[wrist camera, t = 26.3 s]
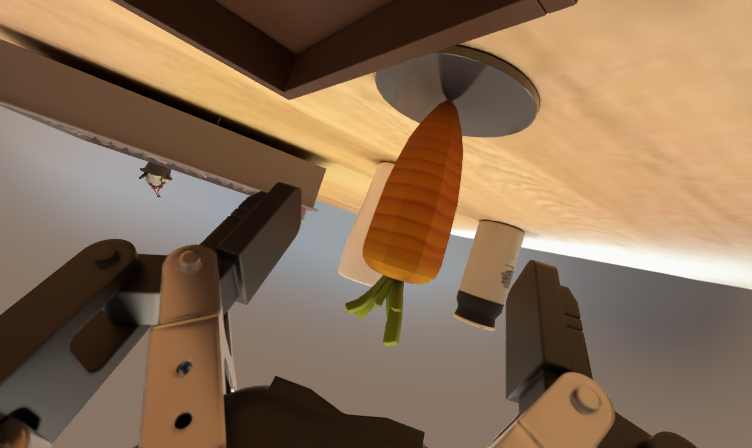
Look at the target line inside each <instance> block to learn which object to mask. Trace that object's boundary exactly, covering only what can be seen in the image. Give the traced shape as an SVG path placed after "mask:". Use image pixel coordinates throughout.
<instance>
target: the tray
mask: <svg viewBox="0 0 752 448" xmlns="http://www.w3.org/2000/svg"><path fill="white" fill-rule="evenodd" d="M111 1H113V2H115V3H117V4H119V5H120V6H122V7H124V8H126V9H127V10H129V11H131V12H133V13H135V14H136V15H138V16H140V17H142V18H144V19H145V20H147V21H149V22H151V23H152V24H154V25H156V26H158V27H160V28H161V29H163V30H165V31H167V32H169V33H170V34H172V35H174V36H176V37H177V38H179V39H181V40H183V41H185V42H186V43H188V44H190V45H192V46H194V47H195V48H197V49H199V50H201V51H202V52H204V53H206V54H208V55H210V56H211V57H213V58H215V59H217V60H219V61H220V62H222V63H224V64H226V65H227V66H229V67H231V68H233V69H235V70H236V71H238V72H240V73H242V74H243V75H245V76H247V77H249V78H251V79H252V80H254V81H256V82H258V83H260V84H261V85H263V86H265V87H267V88H268V89H270V90H272V91H274V92H276V93H277V94H279V95H281V96H283V97H285V98H286V99H288V100H291V99H294V98H297V97H300V96H303V95H306V94H310V93H313V92H316V91H319V90H322V89H325V88H328V87H331V86H334V85H337V84H340V83H343V82H346V81H349V80H352V79H355V78H358V77H361V76H364V75H367V74H370V73H373V72H376V71H379V70H382V69H385V68H388V67H391V66H394V65H397V64H400V63H403V62H406V61H409V60H412V59H415V58H418V57H421V56H424V55H427V54H430V53H433V52H436V51H439V50H442V49H445V48H448V47H451V46H454V45H458V44H461V43H464V42H467V41H470V40H473V39H476V38H479V37H482V36H485V35H488V34H491V33H494V32H497V31H500V30H503V29H506V28H509V27H512V26H515V25H518V24H521V23H524V22H527V21H530V20H533V19H536V18H539V17H542V16H545V15H546V14H547V13H552V12H555V11H558V10H561V9H564V8H567V7H570V6H573V5H575V4H576V3H577V1H578V0H111Z"/></svg>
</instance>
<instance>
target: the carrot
mask: <svg viewBox="0 0 752 448" xmlns="http://www.w3.org/2000/svg"><path fill="white" fill-rule="evenodd" d="M462 160H463V145H462V130H461V126H460V121H459V116H458V111H457V108H456V106H455V105H454V103H453V101H452V100H450V99H448V100H446V101H443V102H441V103H439V104H438V105H437V106H436V107H435V108H434V109H433V110H432V111H431V112H430V113H429V114H428V115H427V116H426V117H425V118H424V119H423V121H422V122H421V123H420V125H419V126H418V127H417V128H416V130H415V131H414V132H413V134H412V135H411V136H410V138H409V139H408V141H407V143H406V145H405V147H404V148H403V150H402V152H401V154H400V156H399V157H398V159H397V161H396V163H395V165H394V167H393V169H392V171H391V173H390V175H389V177H388V179H387V181H386V183H385V186H384V189H383V191H382V194H381V196H380V199H379V202H378V204H377V207H376V210H375V212H374V215H373V218H372V221H371V224H370V227H369V229H368V232H367V235H366V238H365V241H364V245H363V254H362V256H363V258H364V260H365V262H366V264H367V265H368V266H369V267H370V268H371V269H373V270H374V271H376V272H378V273H380V274H382V275H383V276H382V277H381V278H380V279H379V280H378V281H377V283H376V284H375V285H374V286H373V287H372V288H371V289H370V290H369V291H367V292H366V293H365V294H364V295H362V296H361V297H360V298H358V299H357V300H354V301H351V302H348V303H346V304H345V309H346V311H347V312H348V313H353V312H355V315H356V316H357V317H359V318H363V317H365V316H366V315H367V314H368V313H369V312H370V311H371V309H372V308H373V307H374V305H375V306H376V307H381V305H382V303H383V301H384V299H385V297H386V313H387V323H386V327H385V333H384V339H383V343H384V345H387V346H389V347H391V346H393V345H396V344H398V342H399V337H400V331H401V322H402V312H403V287H404V282H407V283H411V284H424V283H428V282H430V281H431V280H433V279H435V277H436V276H437V274H438V272H439V270H440V268H441V265H442V261H443V258H444V254H445V251H446V247H447V243H448V239H449V236H450V232H451V228H452V224H453V220H454V216H455V212H456V208H457V203H458V196H459V189H460V181H461V171H462Z"/></svg>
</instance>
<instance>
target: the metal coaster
mask: <svg viewBox="0 0 752 448" xmlns="http://www.w3.org/2000/svg"><path fill="white" fill-rule="evenodd" d="M375 80H376V85H377V88H378V90H379V92H380V94H381V95H382V97H383V98H384V99H385V100H386V101H387V102H388V103H389V104H390V105H391V106H392V107H393V108H395V109H396V110H397V111H399V112H400V113H402V114H403V115H405V116H407V117H409V118H410V119H412V120H414V121H416V122H419V123H421V122H422V121H423V119H424V118H425V117H426V116H427V115H428V114H429V113H430V112H431V111H432V110H433V109H434V108H435V107H436V106H437V105H438V104H439V103H441V102H443V101H446V100H448V99H450V100H452V101H453V103H454V105H455V106H456V108H457V111H458V116H459V121H460V126H461V130H462V135H463V136H470V137H500V136H506V135H511V134H514V133H517V132H519V131H522V130H524V129H525V128H527V127H528V126H529V125H530V124H532V122H533V121H534V119H535V118H536V115H537V112H538V108H539V98H538V94H537V92H536V90H535V88H534V86H533V85H532V84H531V82H530V81H529V80H528V79H527V78H526V77H525V76H524V75H523V74H522V73H520V72H519V71H518V70H516V69H515V68H514V67H512V66H510V65H509V64H507V63H505V62H504V61H501V60H499V59H497V58H495V57H493V56H491V55H488V54H485V53H483V52H480V51H476V50H473V49H469V48H465V47H460V46H455V45H454V46H451V47H448V48H445V49H442V50H439V51H436V52H433V53H430V54H427V55H424V56H421V57H418V58H415V59H412V60H409V61H406V62H403V63H400V64H397V65H394V66H391V67H388V68H385V69H382V70H379V71H377V72H376V76H375Z"/></svg>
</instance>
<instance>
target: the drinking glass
mask: <svg viewBox="0 0 752 448" xmlns="http://www.w3.org/2000/svg"><path fill="white" fill-rule="evenodd" d="M394 165H395V164H394V163H389V162H383V163H380V164H378V166H377V168H376V171H375V174H374V177H373V180H372V182H371V185H370V187H369V189H368V192H367V194H366V197H365V199H364V201H363V204H362V206H361V209H360V211H359V213H358V216H357V218H356V221H355V223H354V225H353V228H352V230H351V232H350V235H349V237H348V240H347V243H346V245H345V248H344V251H343V254H342V257H341V261H340V264H339V268H338V274H340V275H341V276H343V277H346V278H348V279H351V280H353V281H356V282H359V283H362V284H365V285H369V286H372V287H373V286H374V285H375V284H376V283H377V281H378V280H379V279H380V278H381V277H382V276H383V275H382V274H380V273H378V272H376V271H374V270H373V269H371V268H370V267H369V266H368V265H367V264H366V262H365V260H364V258H363V256H362V254H363V245H364V241H365V238H366V235H367V232H368V229H369V227H370V224H371V221H372V218H373V215H374V212H375V210H376V207H377V204H378V202H379V199H380V196H381V194H382V191H383V189H384V186H385V183H386V181H387V179H388V177H389V175H390V173H391V171H392V169H393V167H394Z"/></svg>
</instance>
